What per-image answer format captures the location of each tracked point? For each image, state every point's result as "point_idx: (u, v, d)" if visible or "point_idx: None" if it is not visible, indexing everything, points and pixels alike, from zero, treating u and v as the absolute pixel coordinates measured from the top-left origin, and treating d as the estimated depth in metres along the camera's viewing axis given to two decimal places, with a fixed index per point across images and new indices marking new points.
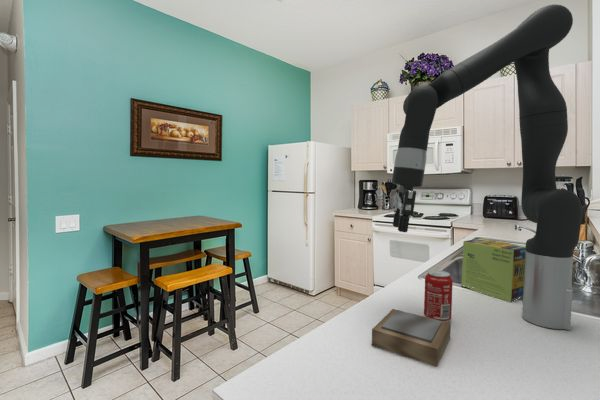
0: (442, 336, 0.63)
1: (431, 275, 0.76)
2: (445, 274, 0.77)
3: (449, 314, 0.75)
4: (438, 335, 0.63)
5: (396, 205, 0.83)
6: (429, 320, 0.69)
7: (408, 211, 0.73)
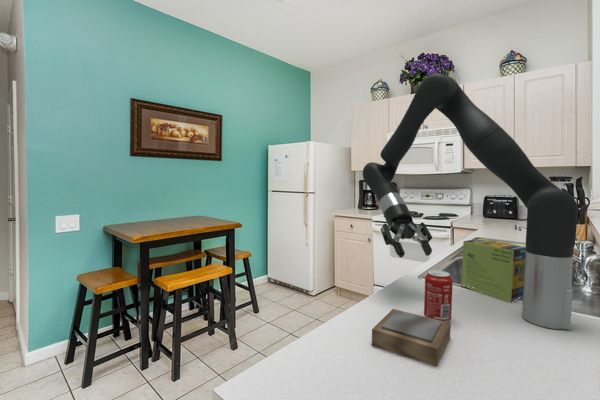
0: (442, 336, 0.63)
1: (431, 275, 0.76)
2: (445, 274, 0.77)
3: (449, 314, 0.75)
4: (438, 335, 0.63)
5: (414, 239, 0.92)
6: (429, 320, 0.69)
7: (387, 239, 0.88)
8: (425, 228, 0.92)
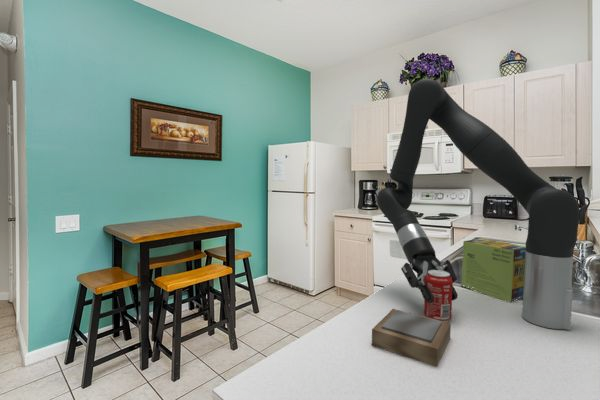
0: (442, 336, 0.63)
1: (431, 275, 0.76)
2: (445, 274, 0.77)
3: (449, 314, 0.75)
4: (438, 335, 0.63)
5: None
6: (429, 320, 0.69)
7: (412, 282, 0.78)
8: (450, 267, 0.82)
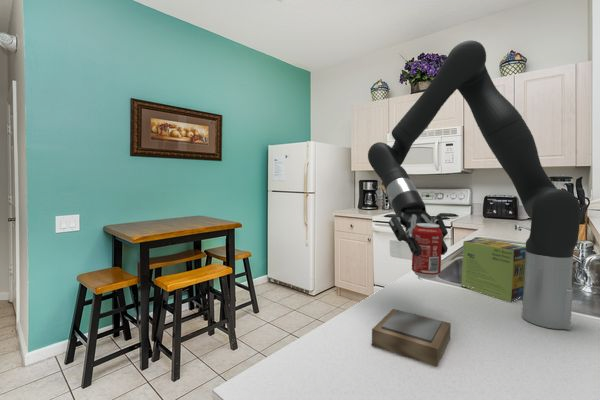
0: (442, 336, 0.63)
1: (419, 226, 0.71)
2: None
3: (437, 267, 0.70)
4: (438, 335, 0.63)
5: None
6: (429, 320, 0.69)
7: (399, 235, 0.73)
8: (441, 222, 0.77)
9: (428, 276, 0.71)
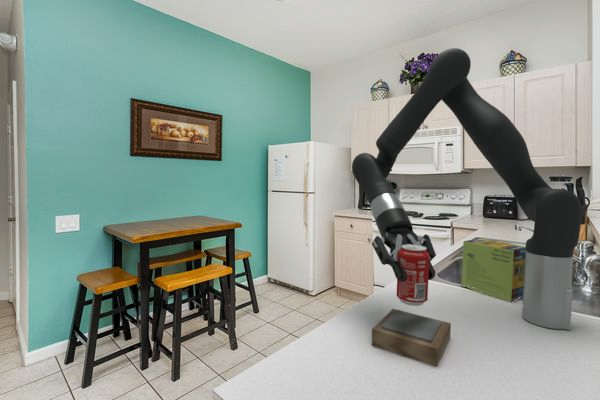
0: (442, 336, 0.63)
1: (404, 249, 0.65)
2: (421, 248, 0.65)
3: (424, 294, 0.64)
4: (438, 335, 0.63)
5: None
6: (429, 320, 0.69)
7: (383, 258, 0.67)
8: (429, 242, 0.71)
9: (414, 304, 0.64)
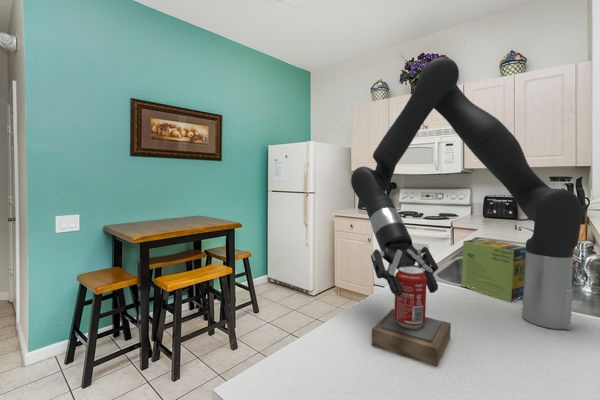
0: (442, 336, 0.63)
1: (402, 272, 0.65)
2: (418, 271, 0.66)
3: (422, 317, 0.64)
4: (438, 335, 0.63)
5: None
6: (429, 320, 0.69)
7: (378, 272, 0.67)
8: (429, 255, 0.71)
9: (412, 327, 0.64)
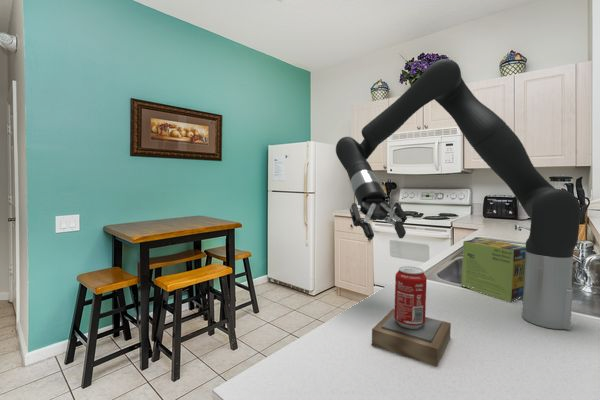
0: (442, 336, 0.63)
1: (402, 272, 0.65)
2: (418, 271, 0.66)
3: (422, 317, 0.64)
4: (438, 335, 0.63)
5: (387, 221, 0.82)
6: (429, 320, 0.69)
7: (355, 220, 0.78)
8: (400, 208, 0.83)
9: (412, 327, 0.64)
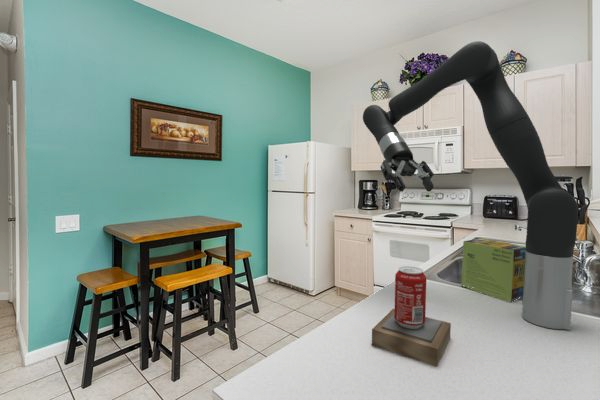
0: (442, 336, 0.63)
1: (402, 272, 0.65)
2: (418, 271, 0.66)
3: (422, 317, 0.64)
4: (438, 335, 0.63)
5: (415, 177, 0.89)
6: (429, 320, 0.69)
7: (387, 175, 0.85)
8: (427, 166, 0.89)
9: (412, 327, 0.64)
